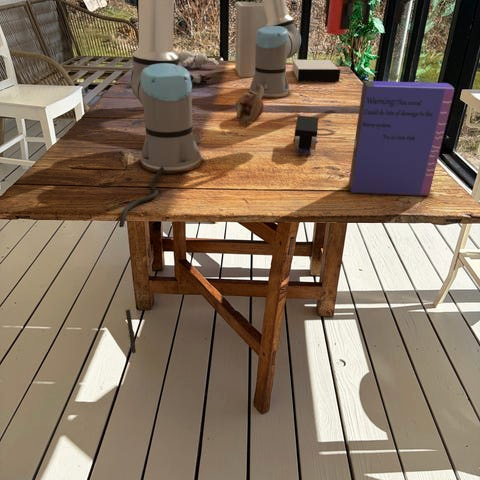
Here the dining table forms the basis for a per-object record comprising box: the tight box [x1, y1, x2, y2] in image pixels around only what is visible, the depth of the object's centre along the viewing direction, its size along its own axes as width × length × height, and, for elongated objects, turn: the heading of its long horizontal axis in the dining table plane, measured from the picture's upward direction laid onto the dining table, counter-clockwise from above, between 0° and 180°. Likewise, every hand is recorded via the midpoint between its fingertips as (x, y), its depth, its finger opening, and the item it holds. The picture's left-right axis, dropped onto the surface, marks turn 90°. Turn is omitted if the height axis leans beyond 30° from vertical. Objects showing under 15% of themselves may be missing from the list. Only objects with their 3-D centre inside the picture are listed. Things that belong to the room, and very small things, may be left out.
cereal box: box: [348, 80, 455, 197], centre depth 104 cm, size 17×5×24 cm, turn 86°
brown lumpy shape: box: [234, 84, 265, 127], centre depth 152 cm, size 13×9×15 cm
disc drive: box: [292, 59, 341, 83], centre depth 211 cm, size 18×22×5 cm
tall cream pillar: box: [234, 1, 267, 78], centre depth 210 cm, size 19×15×28 cm
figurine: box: [189, 73, 213, 85], centre depth 194 cm, size 24×8×30 cm
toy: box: [175, 50, 220, 69], centre depth 224 cm, size 24×25×7 cm
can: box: [326, 0, 347, 35], centre depth 133 cm, size 6×6×10 cm
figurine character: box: [292, 115, 319, 156], centre depth 131 cm, size 7×8×15 cm
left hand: (336, 27), depth 135 cm, fingers closed on can, 5 cm apart
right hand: (381, 24), depth 171 cm, fingers open, 13 cm apart
